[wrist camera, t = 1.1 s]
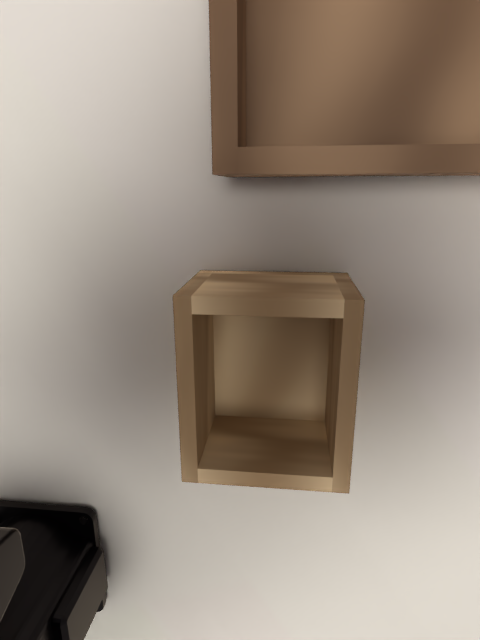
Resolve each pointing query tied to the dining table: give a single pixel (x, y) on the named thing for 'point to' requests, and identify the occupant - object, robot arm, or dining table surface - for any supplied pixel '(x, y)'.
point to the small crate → (268, 378)
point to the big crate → (345, 87)
